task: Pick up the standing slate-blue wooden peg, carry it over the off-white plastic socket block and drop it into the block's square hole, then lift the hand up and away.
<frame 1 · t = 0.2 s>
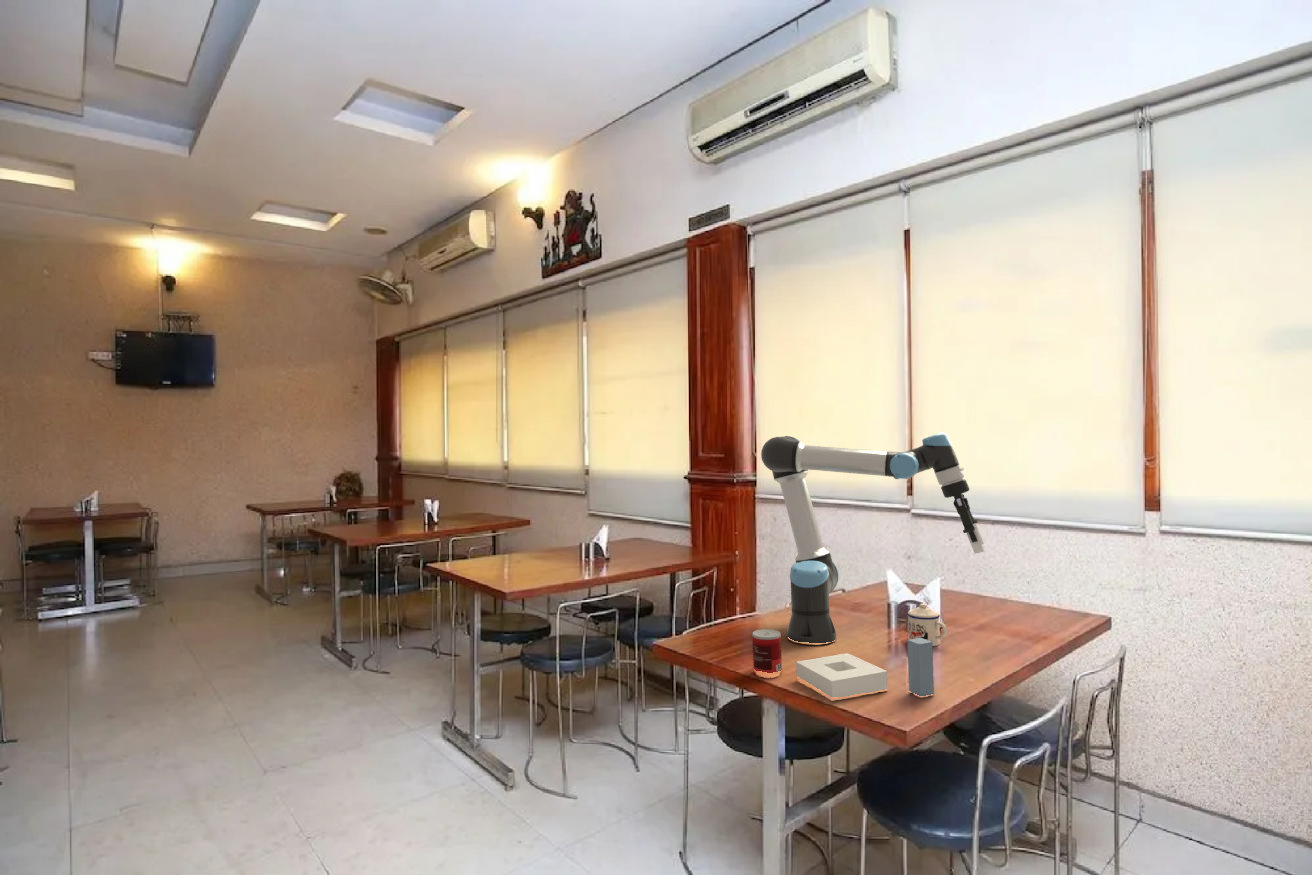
hand: (979, 548, 208), 28 cm above the table, tool tilted 20°, fingers open, 13 cm apart
canned food: (767, 674, 185), on the table
teacup with lid: (928, 644, 207), on the table
socket block: (840, 685, 175), on the table
peg: (921, 694, 167), on the table
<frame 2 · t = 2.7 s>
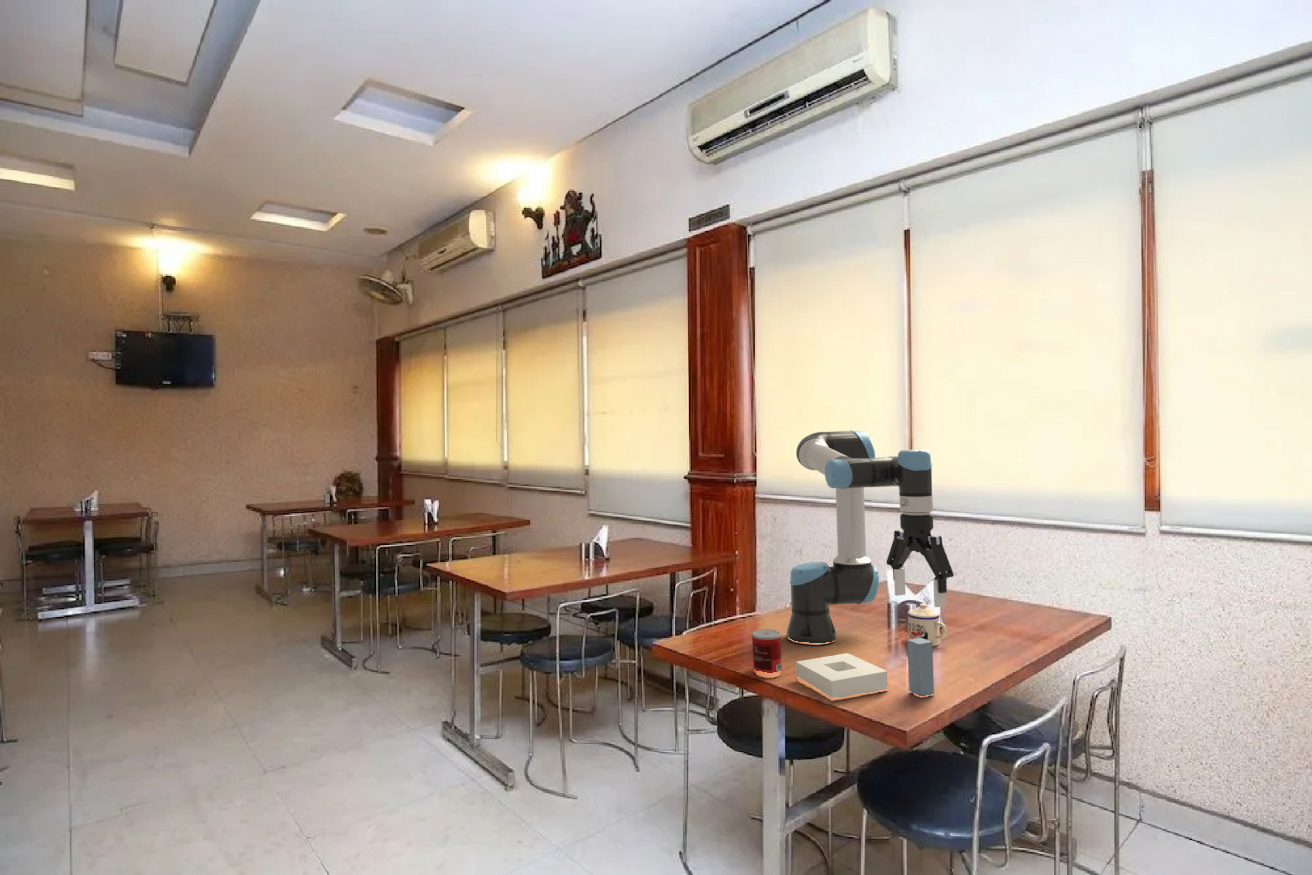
hand: (919, 600, 168), 23 cm above the table, tool pointing down, fingers open, 13 cm apart
nothing on the table moved.
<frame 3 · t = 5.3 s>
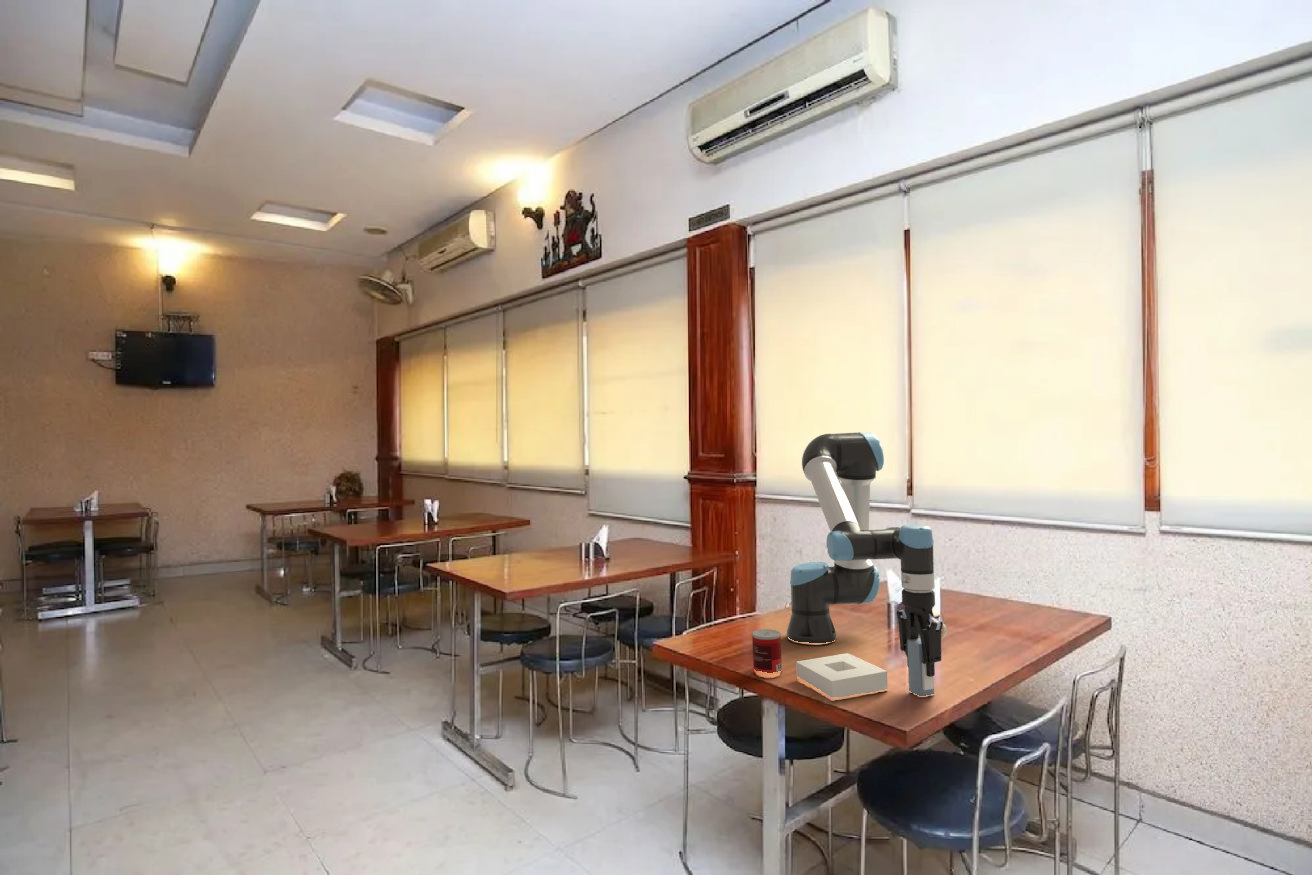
hand: (921, 685, 167), 2 cm above the table, tool pointing down, fingers closed on peg, 4 cm apart
peg: (921, 694, 167), on the table, touching gripper
everything else where it was.
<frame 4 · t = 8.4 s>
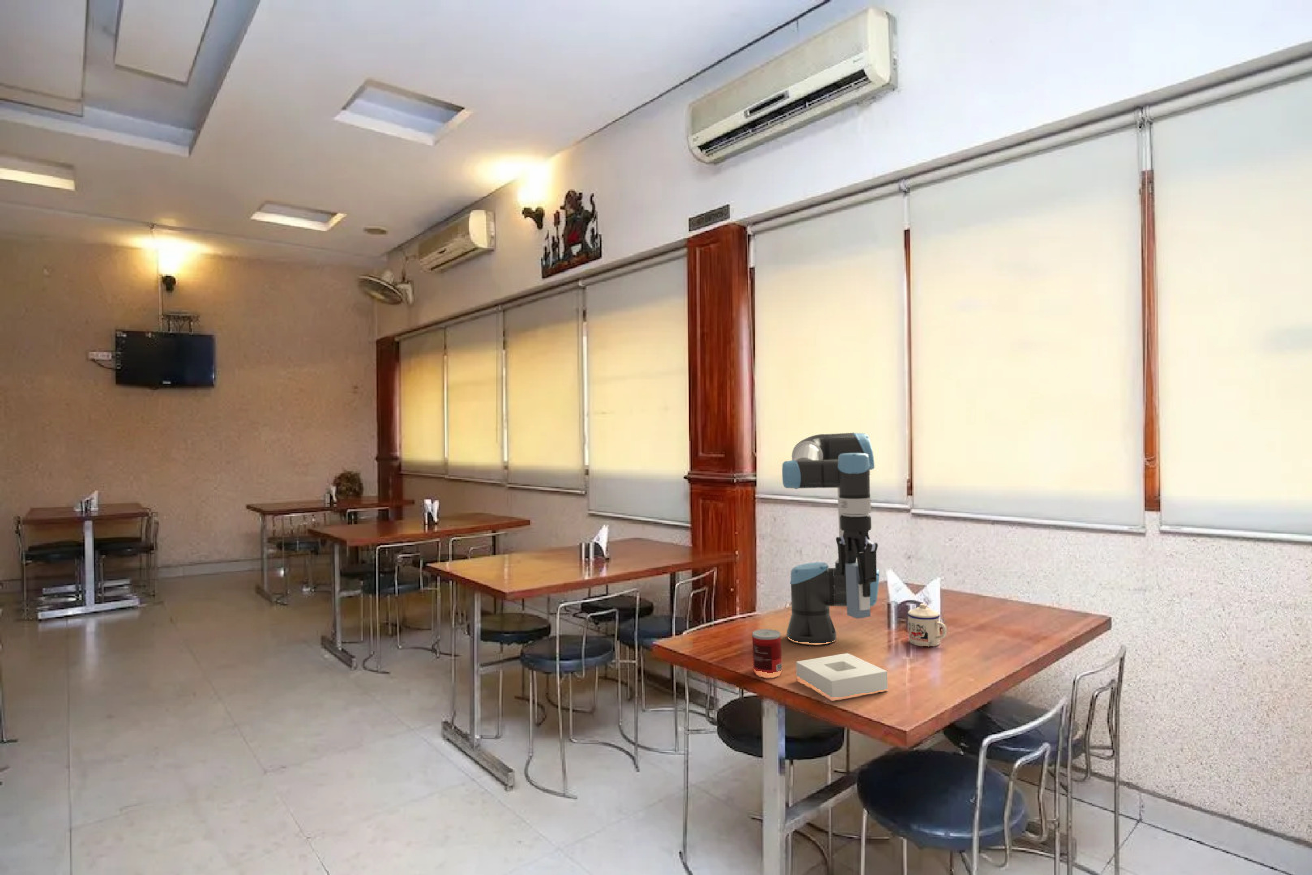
hand: (858, 607, 173), 20 cm above the table, tool pointing down, fingers closed on peg, 4 cm apart
peg: (858, 615, 173), point 18 cm above the table, touching gripper
everything else where it was.
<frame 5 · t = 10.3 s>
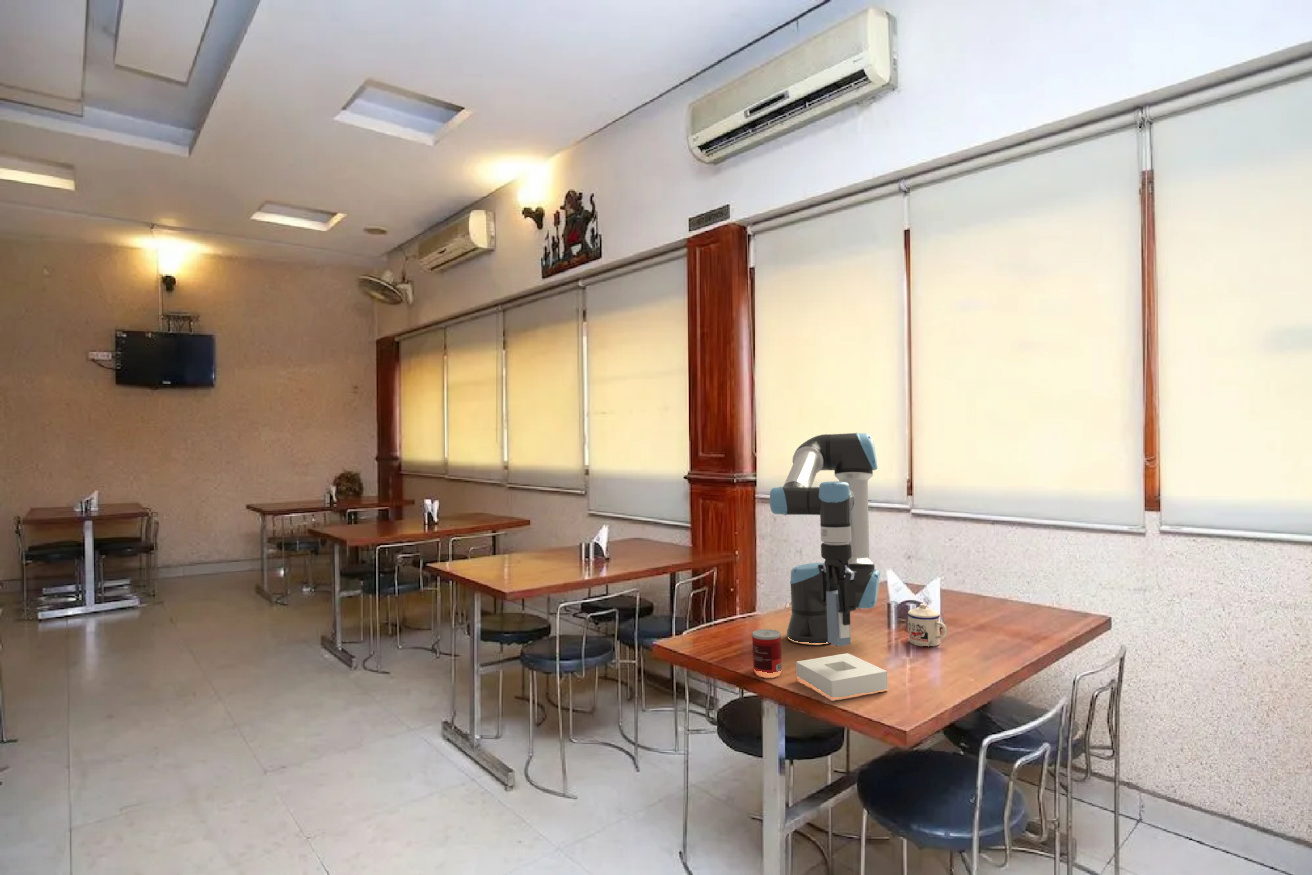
hand: (839, 634, 175), 13 cm above the table, tool pointing down, fingers closed on peg, 4 cm apart
peg: (839, 643, 175), point 11 cm above the table, touching gripper
everything else where it was.
when the fingers open (6 cm above the table, at t = 11.8 s): peg drops 4 cm, resting in socket block.
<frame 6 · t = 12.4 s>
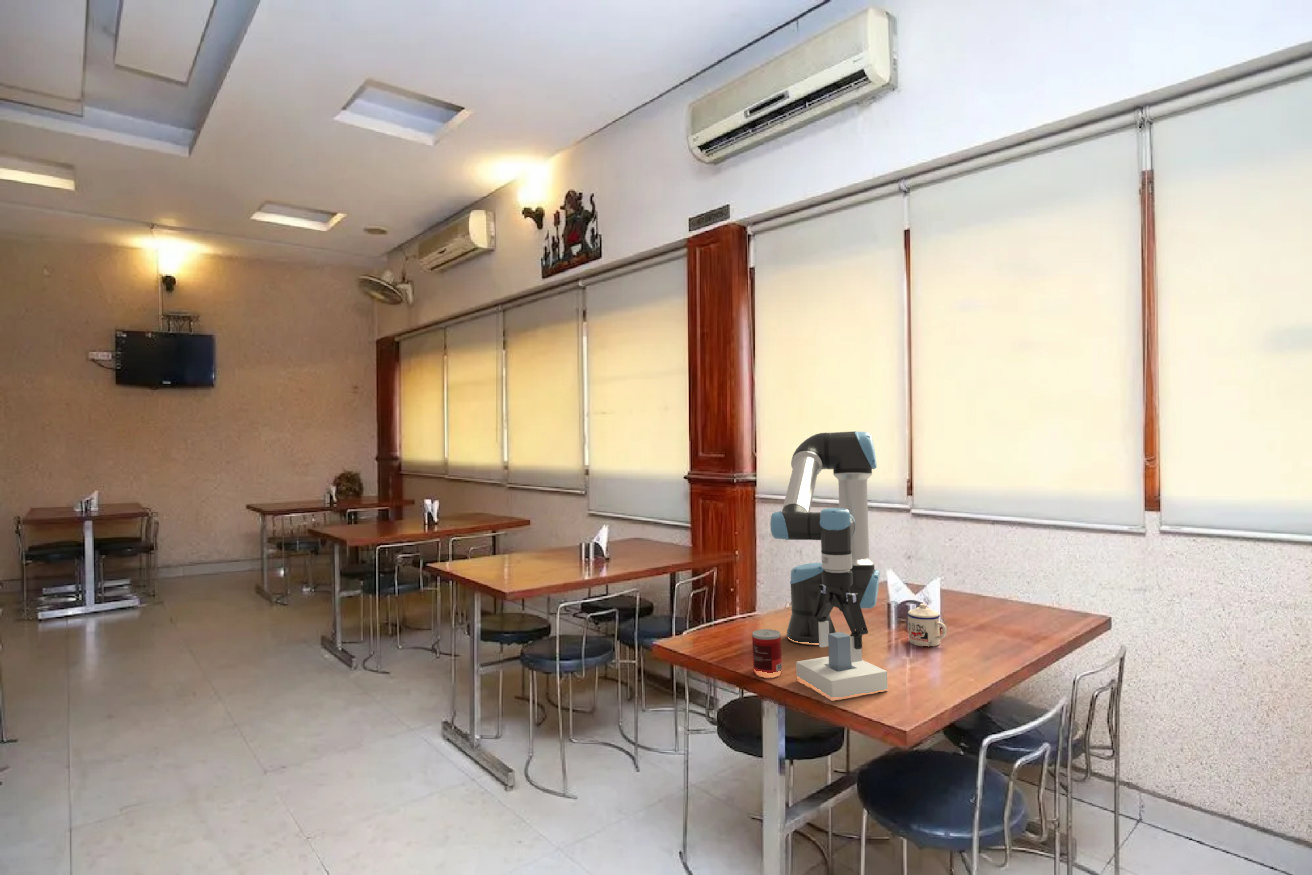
hand: (839, 653, 175), 8 cm above the table, tool pointing down, fingers open, 13 cm apart
peg: (840, 685, 175), resting in socket block
everything else where it was.
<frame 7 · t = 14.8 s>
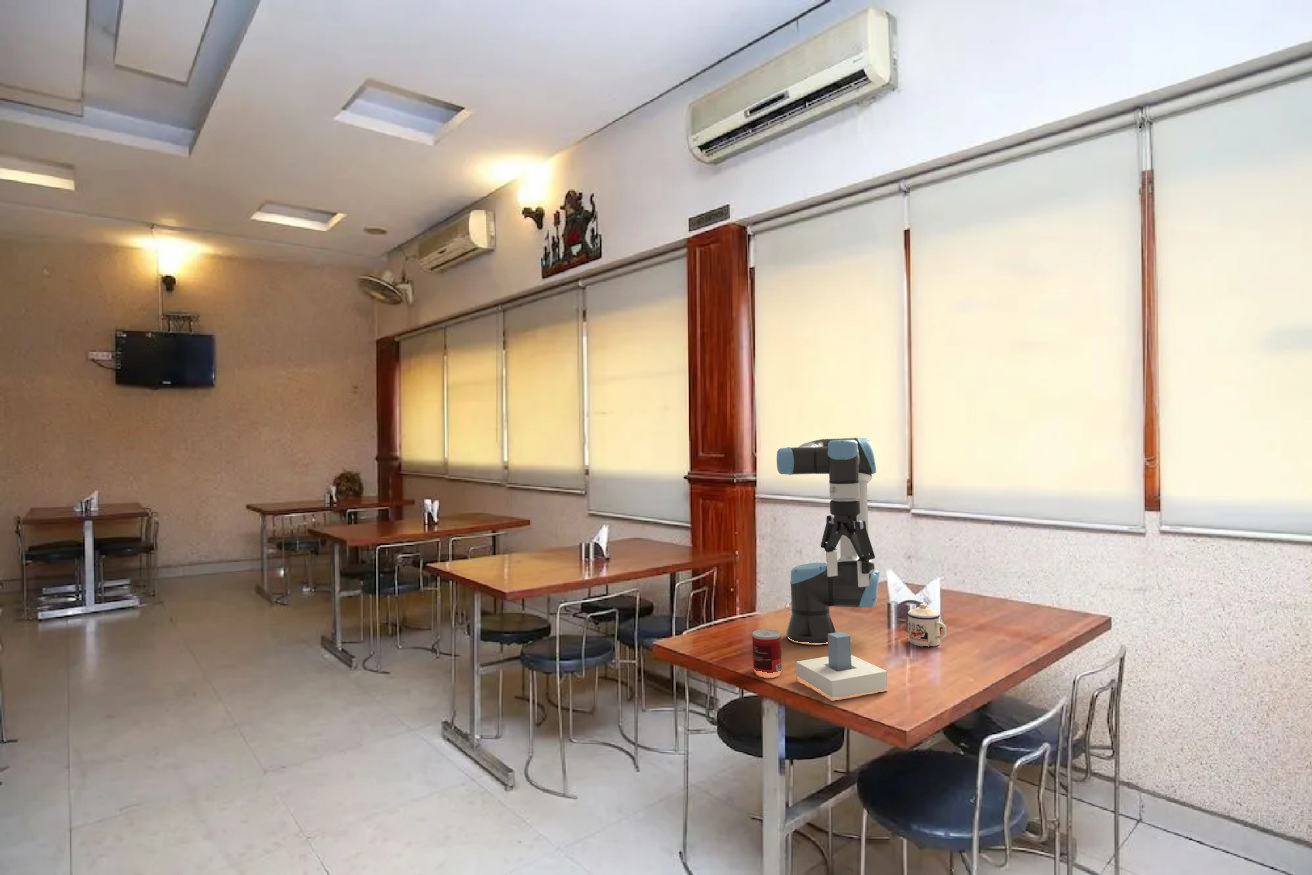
hand: (847, 581, 179), 26 cm above the table, tool pointing down, fingers open, 13 cm apart
nothing on the table moved.
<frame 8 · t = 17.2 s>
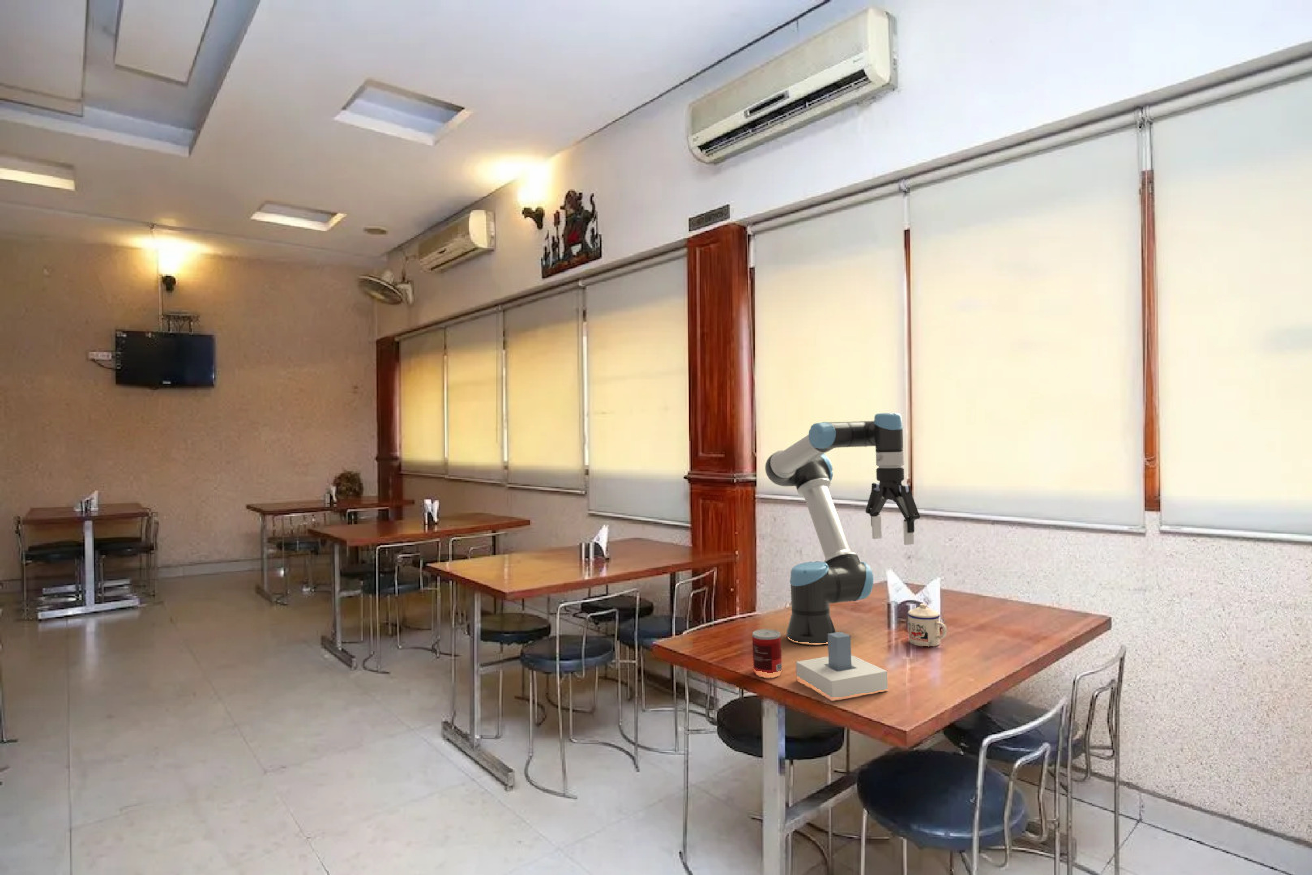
hand: (892, 541, 197), 33 cm above the table, tool pointing down, fingers open, 13 cm apart
nothing on the table moved.
at the end: peg 0.1 cm off-centre on the socket block, point 0.0 cm above the socket block's base; peg tilted 0°; the gripper is holding nothing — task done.
